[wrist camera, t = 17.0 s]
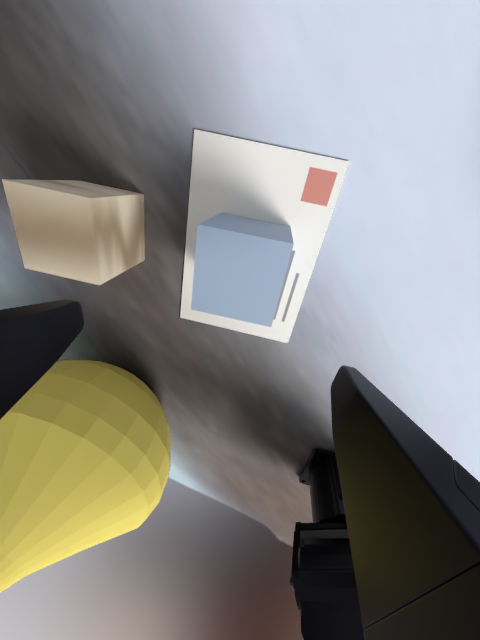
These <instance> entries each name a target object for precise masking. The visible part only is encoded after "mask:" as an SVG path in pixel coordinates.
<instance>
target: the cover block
mask: <svg viewBox="0 0 480 640" xmlns="http://www.w3.org/2000/svg"><path fill="white" fill-rule="evenodd" d="M2 182H3V186H4V189H5V193H6V197H7V201H8V205H9V209H10V213H11V217H12V221H13V224H14V228H15V232H16V236H17V240H18V244H19V248H20V252H21V255H22V259H23V263H24V267H25V268H26V269H30V270H35V271H39V272H43V273H48V274H52V275H56V276H61V277H65V278H70V279H74V280H78V281H83V282H87V283H92V284H96V285H101V284H103V283H105V282H107V281H108V280H110V279H112V278H114V277H116V276H117V275H119V274H121V273H123V272H125V271H126V270H128V269H130V268H132V267H133V266H135V265H137V264H139V263H141V262H142V261H144V260H145V236H144V194H141V193H137V192H132V191H127V190H122V189H118V188H113V187H108V186H103V185H99V184H94V183H89V182H84V181H80V180H11V179H2Z"/></svg>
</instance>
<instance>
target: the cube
mask: <svg viewBox="0 0 480 640" xmlns="http://www.w3.org/2000/svg"><path fill="white" fill-rule="evenodd" d="M293 245H294V243H293V237H292V232H291V227H290V226H287V225H282V224H277V223H272V222H267V221H262V220H257V219H252V218H248V217H243V216H238V215H233V214H228V213H223V212H222V213H220V214H218V215H216V216H214V217H211V218H209V219H207V220H205V221H203V222H201V223H199V224H198V227H197V240H196V252H195V265H194V277H193V290H192V302H191V310H196V311H200V312H205V313H209V314H214V315H218V316H223V317H227V318H232V319H236V320H241V321H245V322H250V323H254V324H259V325H263V326H268V327H271V326H272V322H273V319H274V315H275V311H276V308H277V304H278V300H279V297H280V293H281V289H282V286H283V282H284V278H285V274H286V271H287V267H288V263H289V260H290V256H291V252H292V249H293Z"/></svg>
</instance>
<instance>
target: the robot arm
mask: <svg viewBox="0 0 480 640" xmlns="http://www.w3.org/2000/svg"><path fill="white" fill-rule="evenodd" d="M83 326H84V320H83V313H82V307H81V304H80V303H79V302H76V301H72V300H68V299H65V300H59V301H53V302H47V303H40V304H34V305H28V306H22V307H16V308H9V309H3V310H0V419H1V418H2V417H3V416H4V415H5V414H6V413H7V412H8V411H9V410H10V409H11V408H12V407H13V406H14V405H15V404H16V403H17V402H18V401H19V400H20V399H21V398H22V397H23V396H24V395H25V394H26V393H27V392H28V391H29V390H30V389H31V388H32V387H33V386H34V385H35V384H36V383H37V381H38V380H39V379H40V378H41V377H42V376H43V375H44V374H45V373H46V372H47V371H48V370H49V369H50V368H51V367H52V366H53V365H54V364H55V363H56V361H57V360H58V359H59V358H60V357H61V355H62V354H63V353H64V352H65V350H66V349H67V348H68V347H69V345H70V344H71V343H72V342H73V340H74V339H75V338H76V337H77V335H78V334H79V333H80V331H81V330H82V328H83ZM331 409H332V431H333V439H334V446H335V452H336V453H332V452H328V451H324V450H321V449H315V450H314V451H313V453H312V455H311V457H310V458H309V460H308V462H307V464H306V466H305V468H304V469H303V471H302V473H301V475H300V477H299V481H300V483H303V484H307V485H310V494H311V505H312V516H313V523H301V522H296V526H295V531H294V542H293V558H292V571H291V577H290V585H291V587H292V589H293V590H294V592H295V597H296V602H297V606H298V609H299V611H300V613H301V632H302V635H303V638H304V640H480V482H479V481H478V480H477V479H475V478H474V477H473V476H472V475H471V474H470V473H469V472H468V471H467V470H466V469H464V468H463V467H462V466H461V465H460V464H459V463H458V462H457V461H456V460H453V458H452V457H451V456H450V455H449V454H448V453H447V452H446V451H445V450H444V449H443V448H442V447H440V446H439V445H438V444H437V443H436V442H435V441H434V440H433V439H432V438H431V437H430V436H428V435H427V434H426V433H425V432H424V431H423V430H422V429H421V428H420V427H419V426H418V425H417V424H415V423H414V422H413V421H412V420H411V419H410V418H409V417H408V416H407V415H406V414H405V413H403V412H402V411H401V410H400V409H399V408H398V407H397V406H396V405H395V404H394V403H393V402H391V401H390V400H389V399H388V398H387V397H386V396H385V395H384V394H383V393H382V392H381V391H379V390H378V389H377V388H376V387H375V386H374V385H373V384H372V383H371V382H370V381H369V380H367V379H366V378H365V377H364V376H363V375H362V374H361V373H360V372H359V371H358V370H357V369H355V368H353V367H349V366H344V365H343V366H341V367H340V369H339V370H338V372H337V374H336V376H335V378H334V380H333V382H332V385H331Z"/></svg>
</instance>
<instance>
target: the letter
mask: <svg viewBox="0 0 480 640" xmlns="http://www.w3.org/2000/svg"><path fill="white" fill-rule="evenodd" d="M349 163H350V162H349V161H345V160H340V159H335V158H330V157H325V156H321V155H316V154H311V153H306V152H302V151H297V150H292V149H287V148H282V147H278V146H273V145H268V144H263V143H258V142H254V141H249V140H244V139H239V138H234V137H230V136H225V135H220V134H215V133H210V132H206V131H201V130H196V129H194V141H193V154H192V167H191V180H190V194H189V207H188V220H187V233H186V246H185V260H184V273H183V286H182V299H181V312H180V318H184V319H189V320H193V321H197V322H201V323H205V324H210V325H214V326H218V327H222V328H226V329H231V330H235V331H239V332H243V333H247V334H252V335H256V336H260V337H264V338H268V339H273V340H277V341H281V342H285V343H288V341H289V338H290V335H291V332H292V329H293V326H294V323H295V321H296V318H297V315H298V312H299V309H300V306H301V303H302V300H303V297H304V294H305V291H306V288H307V285H308V283H309V280H310V277H311V274H312V271H313V268H314V265H315V262H316V259H317V256H318V253H319V250H320V247H321V245H322V242H323V239H324V236H325V233H326V230H327V227H328V224H329V221H330V218H331V215H332V212H333V209H334V207H335V204H336V201H337V198H338V195H339V192H340V189H341V186H342V183H343V180H344V177H345V174H346V172H347V169H348V166H349ZM222 212H223V213H228V214H233V215H238V216H243V217H248V218H252V219H257V220H262V221H267V222H272V223H277V224H282V225H287V226H290V227H291V232H292V237H293V243H294V245H293V249H292V252H291V256H290V260H289V263H288V267H287V271H286V274H285V278H284V282H283V286H282V289H281V293H280V297H279V300H278V304H277V308H276V311H275V315H274V319H273V322H272V326H271V327H268V326H263V325H259V324H254V323H250V322H245V321H241V320H236V319H232V318H227V317H223V316H218V315H214V314H209V313H205V312H200V311H196V310H191V302H192V290H193V277H194V265H195V252H196V240H197V227H198V224H199V223H201V222H203V221H205V220H207V219H209V218H211V217H214V216H216V215H218V214H220V213H222Z"/></svg>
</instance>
